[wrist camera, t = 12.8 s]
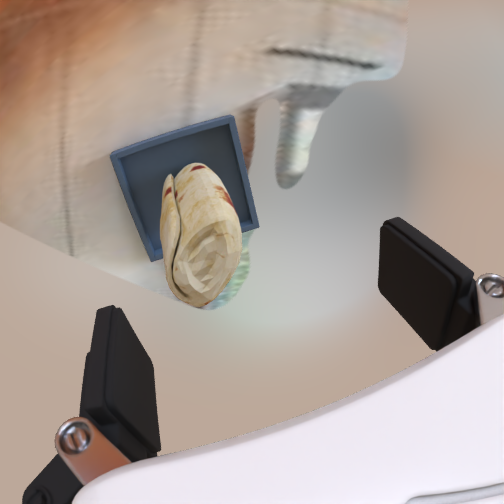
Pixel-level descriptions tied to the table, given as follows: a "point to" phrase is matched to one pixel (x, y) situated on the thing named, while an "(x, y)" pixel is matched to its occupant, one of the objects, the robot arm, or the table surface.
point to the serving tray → (172, 162)
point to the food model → (198, 234)
